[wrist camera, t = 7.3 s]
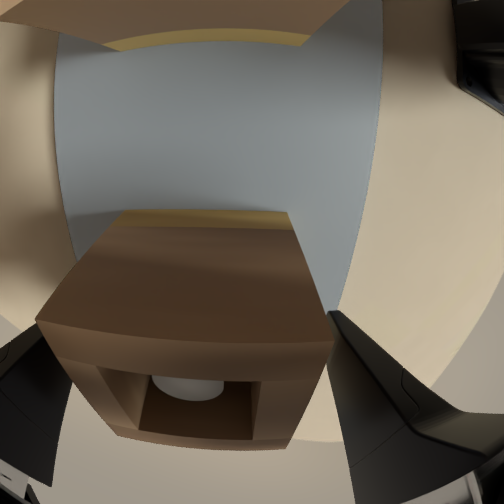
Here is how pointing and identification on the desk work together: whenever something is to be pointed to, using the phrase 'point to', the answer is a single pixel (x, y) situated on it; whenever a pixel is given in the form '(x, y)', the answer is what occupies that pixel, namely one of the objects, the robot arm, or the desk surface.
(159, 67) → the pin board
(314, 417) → the desk surface
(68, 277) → the sleeve
